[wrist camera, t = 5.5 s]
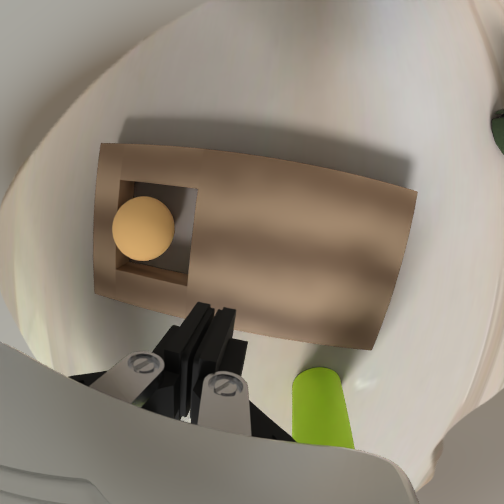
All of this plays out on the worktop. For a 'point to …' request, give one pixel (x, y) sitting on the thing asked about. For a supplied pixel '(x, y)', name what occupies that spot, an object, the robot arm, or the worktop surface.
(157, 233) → the ball
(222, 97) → the worktop surface
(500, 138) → the character mug
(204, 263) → the board
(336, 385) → the soap dispenser
